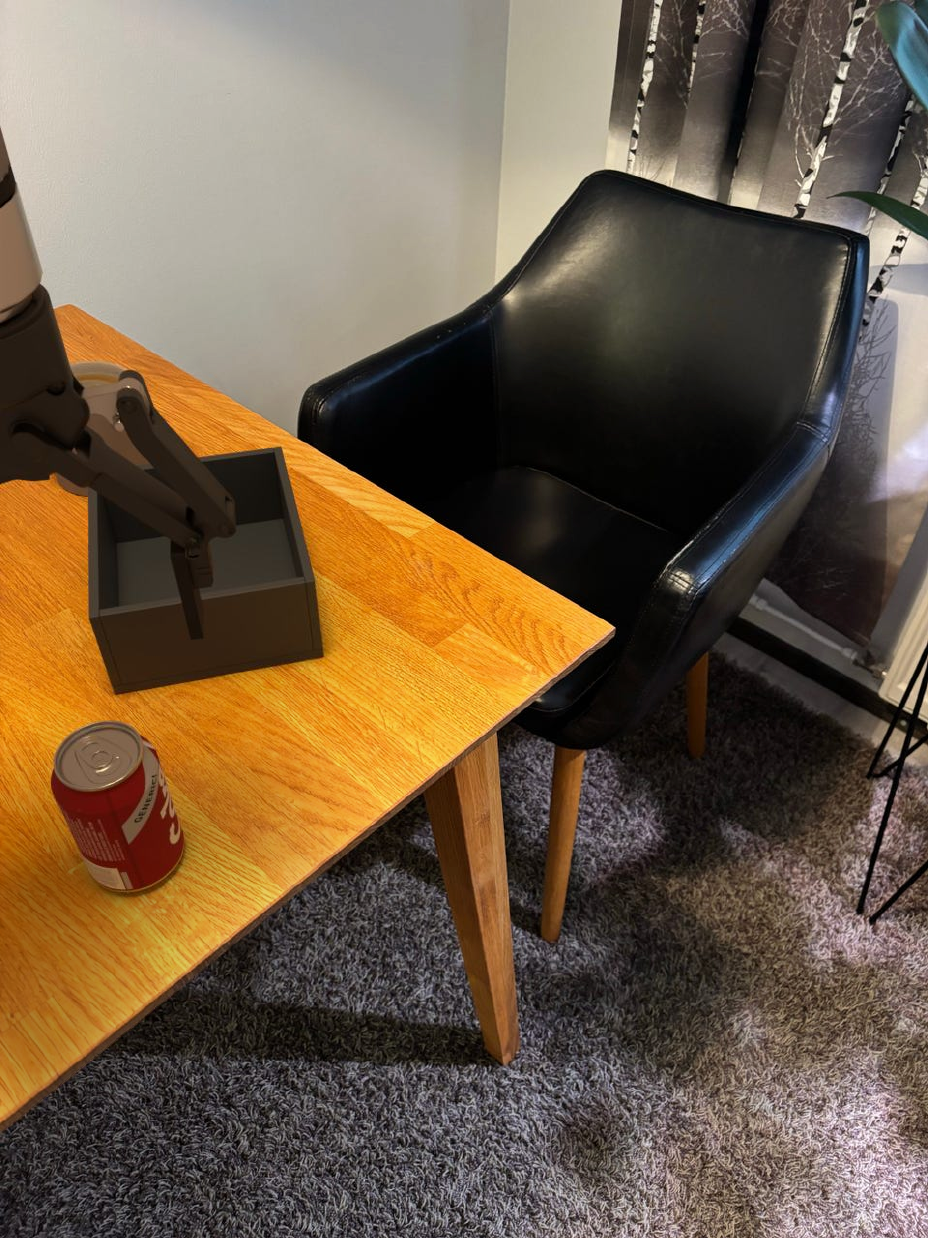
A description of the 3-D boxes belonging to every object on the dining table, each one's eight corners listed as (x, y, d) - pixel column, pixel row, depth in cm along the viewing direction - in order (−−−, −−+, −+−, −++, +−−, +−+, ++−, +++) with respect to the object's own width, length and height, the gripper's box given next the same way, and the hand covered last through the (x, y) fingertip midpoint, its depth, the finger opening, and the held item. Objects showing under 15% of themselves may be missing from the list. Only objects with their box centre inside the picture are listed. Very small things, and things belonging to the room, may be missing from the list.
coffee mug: (152, 491, 101) (131, 407, 94) (52, 501, 99) (23, 417, 92) (153, 421, 110) (135, 340, 103) (62, 429, 108) (36, 348, 101)
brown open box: (114, 694, 81) (88, 618, 75) (110, 547, 94) (87, 471, 88) (323, 657, 85) (315, 580, 78) (291, 520, 98) (281, 445, 92)
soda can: (124, 916, 67) (80, 817, 58) (71, 857, 70) (22, 755, 61) (205, 853, 70) (174, 752, 62) (150, 800, 73) (114, 696, 65)
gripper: (243, 243, 47) (288, 571, 62) (-330, 276, 43) (-134, 619, 58) (249, 316, 42) (297, 656, 56) (-402, 362, 38) (-167, 714, 52)
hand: (79, 638), depth 57 cm, fingers open, 13 cm apart
